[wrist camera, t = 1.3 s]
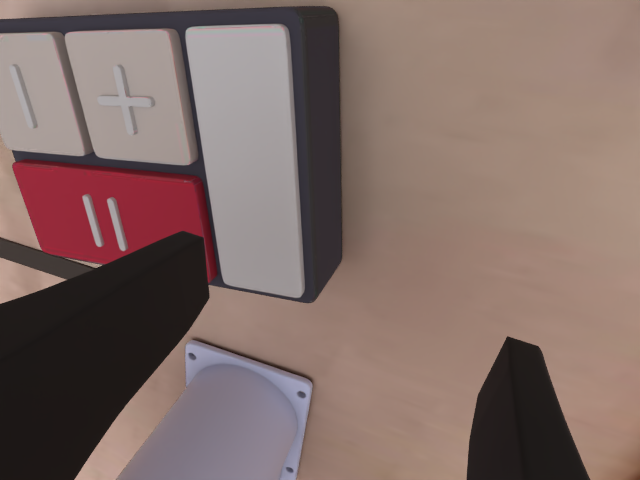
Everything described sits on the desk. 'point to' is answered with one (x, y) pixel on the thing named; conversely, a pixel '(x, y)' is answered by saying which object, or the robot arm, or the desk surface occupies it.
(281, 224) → the calculator
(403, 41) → the desk surface
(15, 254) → the strip
